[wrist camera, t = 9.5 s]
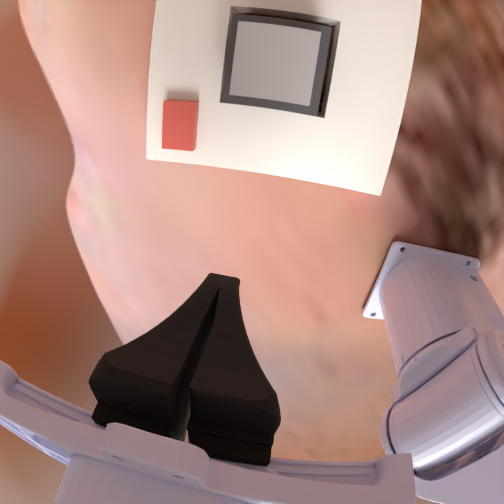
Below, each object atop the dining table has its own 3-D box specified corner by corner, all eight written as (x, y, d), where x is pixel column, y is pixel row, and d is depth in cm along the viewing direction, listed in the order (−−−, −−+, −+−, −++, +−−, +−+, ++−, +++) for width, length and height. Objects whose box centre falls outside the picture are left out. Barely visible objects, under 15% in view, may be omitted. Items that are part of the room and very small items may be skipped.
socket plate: (409, -5, 12) (426, -14, 10) (371, 182, 20) (382, 199, 18) (177, -37, 13) (160, -50, 10) (160, 149, 21) (142, 162, 18)
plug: (321, 37, 15) (334, 24, 10) (310, 104, 17) (318, 119, 12) (246, 27, 15) (227, 10, 10) (238, 93, 17) (216, 104, 12)
